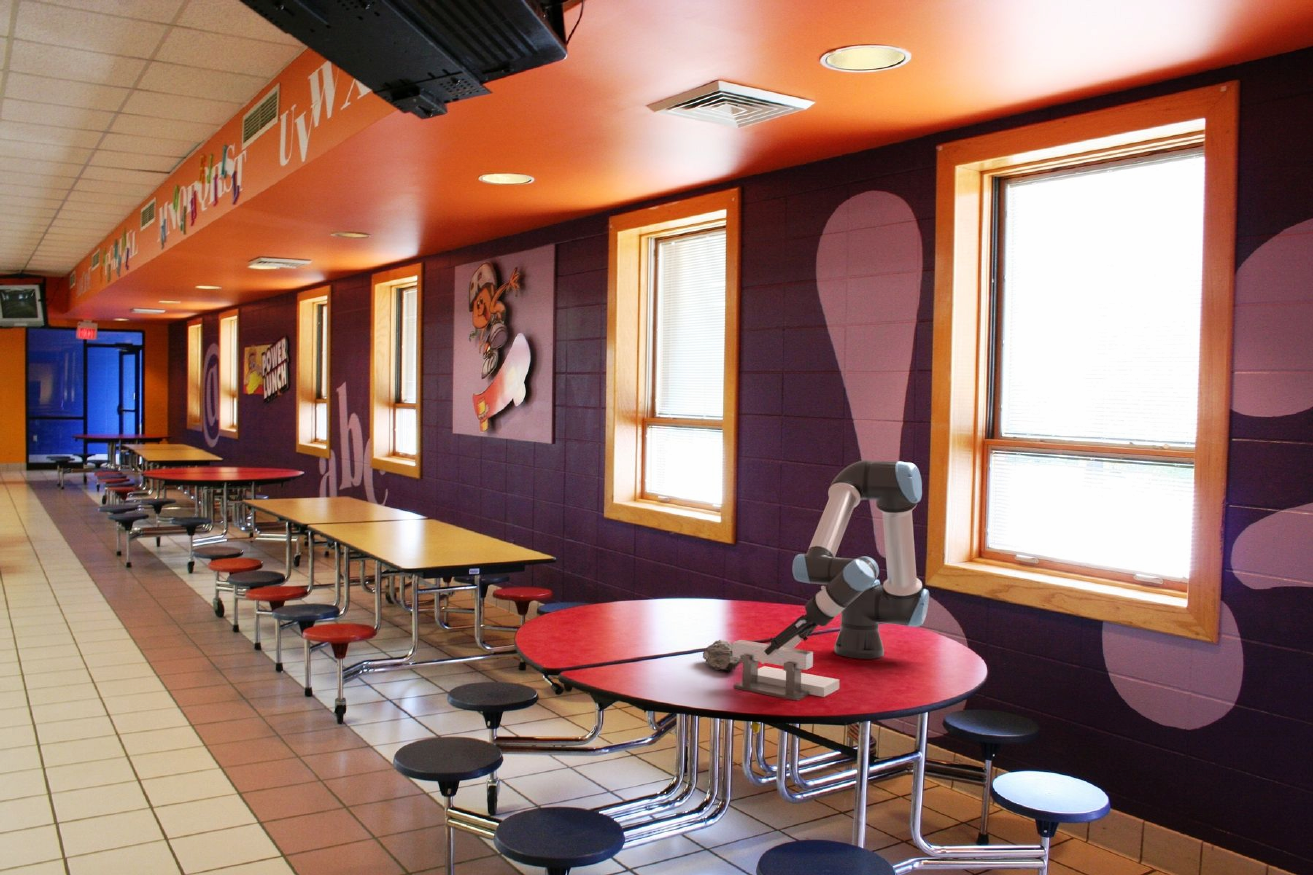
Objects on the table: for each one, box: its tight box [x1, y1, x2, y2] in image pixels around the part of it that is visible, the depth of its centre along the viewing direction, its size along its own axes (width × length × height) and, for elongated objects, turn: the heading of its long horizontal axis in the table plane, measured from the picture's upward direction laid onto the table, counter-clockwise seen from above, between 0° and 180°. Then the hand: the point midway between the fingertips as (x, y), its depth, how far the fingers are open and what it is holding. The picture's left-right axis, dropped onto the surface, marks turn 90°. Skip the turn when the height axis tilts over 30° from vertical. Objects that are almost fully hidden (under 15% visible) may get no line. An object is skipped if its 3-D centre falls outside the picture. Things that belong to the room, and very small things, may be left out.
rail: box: [732, 639, 814, 671], centre depth 259 cm, size 4×22×4 cm, turn 56°
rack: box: [733, 655, 810, 702], centre depth 259 cm, size 7×19×9 cm, turn 56°
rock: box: [702, 639, 741, 672], centre depth 283 cm, size 18×10×10 cm
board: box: [757, 665, 840, 698], centre depth 265 cm, size 10×23×2 cm, turn 56°
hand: (771, 655), depth 259 cm, fingers open, 13 cm apart
